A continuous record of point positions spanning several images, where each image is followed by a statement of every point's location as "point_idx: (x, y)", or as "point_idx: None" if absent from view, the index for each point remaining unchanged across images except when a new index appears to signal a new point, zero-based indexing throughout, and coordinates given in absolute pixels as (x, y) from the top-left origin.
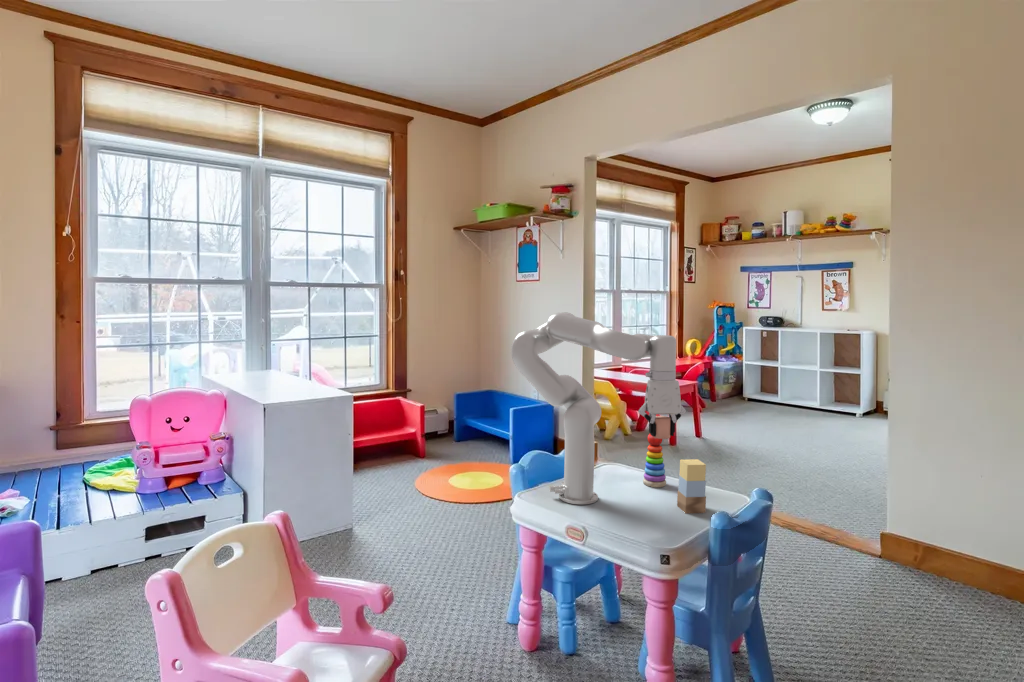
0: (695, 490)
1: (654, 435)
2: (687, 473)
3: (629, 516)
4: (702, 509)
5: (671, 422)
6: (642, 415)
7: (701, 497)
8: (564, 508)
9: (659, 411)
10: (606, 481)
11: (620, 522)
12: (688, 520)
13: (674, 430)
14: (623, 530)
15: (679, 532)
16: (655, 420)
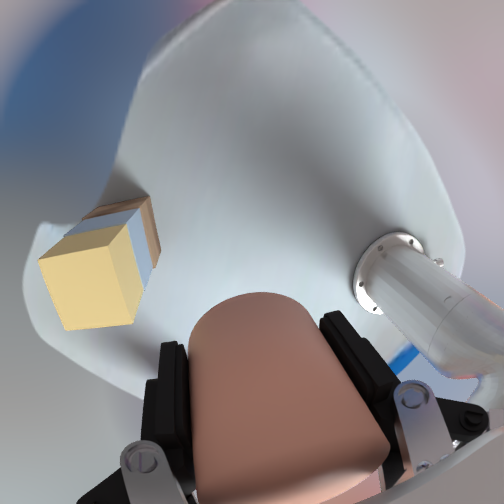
0: (105, 218)
1: (334, 312)
2: (117, 232)
3: (308, 162)
4: (102, 207)
5: (180, 450)
6: (497, 410)
7: (94, 215)
8: (425, 211)
9: (450, 501)
10: None
11: (337, 123)
12: (153, 144)
13: (149, 388)
14: (338, 77)
15: (201, 62)
16: (378, 426)
